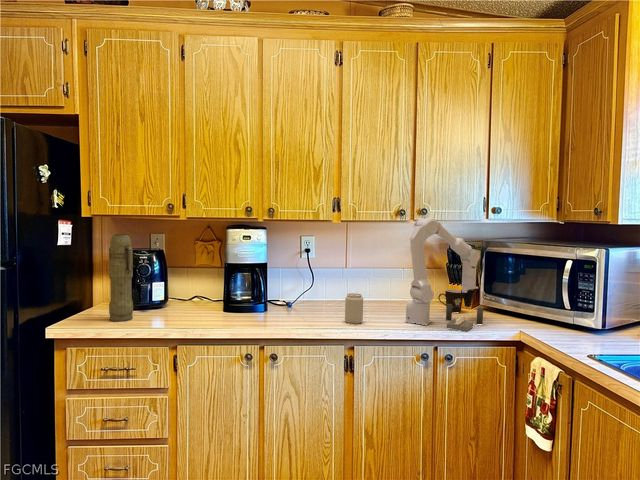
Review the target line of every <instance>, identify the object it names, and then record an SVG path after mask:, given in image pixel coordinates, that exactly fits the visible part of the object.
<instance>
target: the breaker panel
mask: <svg viewBox="0 0 640 480" xmlns="http://www.w3.org/2000/svg"><path fill="white" fill-rule="evenodd" d="M456 319H457V318H453V319H452V321H448V322H447V323H446V329H447V328H452V329H457V330H456V331H458V330H461V331H460V332H464V331H465V332H466V333H467V332H469V331H470V330H471V329H472V328H473V327H474V322H473V321H470V320H469V321H468V320H465V321H463V322H462V323H461V324H459V325H457V324H455V323H456ZM472 326H473V327H472ZM471 327H472V328H471ZM470 328H471V329H470ZM452 329H451V330H452ZM469 329H470V330H469Z"/></svg>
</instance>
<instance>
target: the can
mask: <svg viewBox="0 0 640 480" xmlns="http://www.w3.org/2000/svg"><path fill="white" fill-rule="evenodd" d="M362 295H363V294H362V293H358V292H357V293H356V292H355V293H354V292H353V293H351V292H350V293H347V294H346V297H345V299H344V300H345V301H344V321H345V322H346V323H347V324H350V325H351V324H352V325H360V324H361V323H362V322H363V320H364V319H363V318H364V298H363V296H362Z"/></svg>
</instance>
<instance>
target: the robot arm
mask: <svg viewBox="0 0 640 480" xmlns="http://www.w3.org/2000/svg"><path fill="white" fill-rule="evenodd" d="M412 227H413V229H412V232H411V234H410V237H409V241H410V252H411V260H412V261H411V262H412V270H413V271H412V273H413V280H412V281H411V284H410V286H411V287H410V291H409V295H410V297H411V298H412V300H408V301H407V303H406V306H405V307H406V308H405V320H404V322H405V323H408V324H414V323H416V324H415V325H420V324H422V325H421V326H428V325H429V323H430V324H432V323H433V320H430V314H431V313H430V311H431V310H430V309H431V302H432V301H433V299H434V292H433V290H432V284H431V283H430V282H429V280H428V273H427V264H426V254H425V252H426V251H425V242H426V241H427V240H428V239H429V238H430V237H432V236H433V235H437V236H439V237H440V238H441V239H443V240H444V241H445V242H447V243H448V244H449V246H450V249H451V250H452V251H453V252H454V253H456V254H457V255H458V256H459V257H460V260H462V270H461V271H462V273H461V274H462V277H461V289H460V290H461V294H462V296H463V303H464V307H465V308H470V307H471V306H472V303H473V300H474V296H475V294H476V292H477V290H478V289H479V286H476V285H477V281H476V280H477V266H478V262H479V261H480V258H481V255H480V254H479V251H478V250H477V249H474V248H472V246H471V245H469V244H467V242H465V239H464V238H461V237H455V236H454V235H453V234H452V233H451V232H449V231H448V229H446V227H444V226H443V225H442V223H440V222H438V221H437V220H436V219H434V218H430V219H429V218H419V219H417V220H416V221H415V222H414V223H413V225H412ZM475 289H476V290H475ZM427 324H428V325H427Z"/></svg>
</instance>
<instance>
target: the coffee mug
mask: <svg viewBox="0 0 640 480" xmlns="http://www.w3.org/2000/svg"><path fill="white" fill-rule="evenodd" d="M461 290H462V289H450V288H447V289H445V290H444V293H440V294H438V301H439V302H440V303H441V304H443V305H444V306H445V307H446V305H447V304H452V312H462V307H463V306H462V305H463V302H464V299H463V296H462V294H461ZM441 296H445V302H443V301H442V300H441V299H440V297H441Z"/></svg>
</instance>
